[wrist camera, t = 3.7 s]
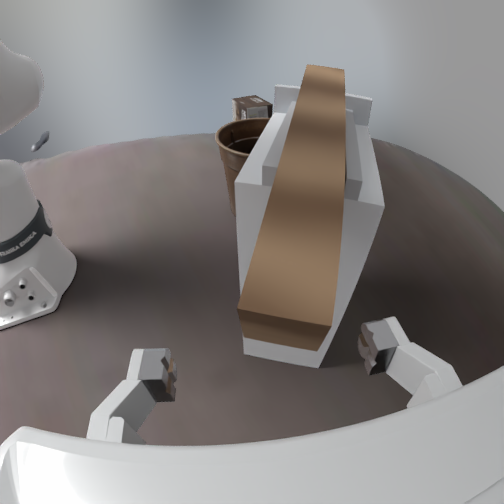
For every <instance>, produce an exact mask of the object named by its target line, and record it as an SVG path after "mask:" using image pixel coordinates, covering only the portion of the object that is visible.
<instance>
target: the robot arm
mask: <svg viewBox="0 0 504 504" xmlns="http://www.w3.org/2000/svg"><path fill="white" fill-rule="evenodd" d="M43 88H44V80H43V75H42V72H41V69H40V67H39V66H38V64H37V63H36V62H35V61H34V60H33V59H31V58H30V57H28V56H24V55H20V54H17V53H14V52H12V51H11V50H9V49H8V48H7V47H6V46H5V45H4V44H3V42H2V41H1V39H0V135H1V134H3V133H4V132H6V131H8V130H9V129H11V128H12V127H14V126H16V125H17V124H18V123H19V122H20V121H22V120H23V119H24V118H25V117H26V116H28V115H29V114H30V113H31V112H32V111H34V110H35V109H36V108H37V107H38V105H39V103H40V101H41V98H42V94H43ZM76 267H77V262H76V258H75V256H74V254H73V253H72V252H71V251H69V250H68V249H67V248H66V247H65V246H64V244H63V243H62V242H61V241H60V240H59V238H58V237H57V235H56V234H55V233H54V231H53V229H52V224H51V222H50V220H49V218H48V215H47V213H46V211H45V209H44V208H43V207H42V205H41V203H40V201H39V200H37V199H36V197H35V195H34V193H33V190H32V188H31V186H30V183H29V181H28V179H27V176H26V174H25V171H24V169H23V168H22V166H21V165H20V164H19V163H17V162H15V161H13V160H0V330H1V329H4V328H7V327H10V326H13V325H16V324H19V323H22V322H25V321H28V320H30V319H33V318H36V317H39V316H42V315H45V314H48V313H51V312H53V311H55V310H56V308H57V307H58V304H59V302H60V299H61V296H62V294H63V293H64V292H65V290H66V289H67V288H68V286H69V285H70V283H71V282H72V280H73V278H74V275H75V272H76ZM361 331H362V333H361V334H360V335H359V337H358V349H359V353H360V355H361V357H363V358H364V359H366V360H365V363H364V365H365V368H366V370H367V373H368V375H369V376H370V375H375V374H379V373H383V372H386V373H387V374H388V375H389V376H390V377H392V378H393V379H394V380H395V381H396V382H398V383H399V384H400V385H401V386H403V387H404V388H405V389H406V390H407V391H409V392H410V393H411V394H412V395H413V397H412V398H411V400H410V401H409V403H408V404H407V409H405V410H402V411H399V412H396V413H392V414H389V415H386V416H383V417H379V418H376V419H373V420H369V421H365V422H362V423H358V424H354V425H350V426H346V427H342V428H337V429H333V430H328V431H324V432H319V433H314V434H308V435H303V436H297V437H291V438H284V439H277V440H269V441H261V442H252V443H241V444H227V445H207V446H160V445H146V442H145V441H144V440H143V439H142V438H141V437H140V436H139V435H138V434H137V433H136V432H137V431H138V429H139V428H140V427H141V425H142V424H143V422H144V421H145V419H146V418H147V416H148V415H149V414H150V412H151V411H152V409H153V408H154V406H155V405H156V402H175V393H176V388H175V386H174V382H175V381H176V380H177V370H176V365H175V362H174V360H173V359H172V358H170V356H171V353H170V351H169V349H168V348H158V349H134V350H133V352H132V355H131V360H130V365H129V369H128V374H127V379H126V380H123V381H122V382H121V383H120V384H119V385H118V386H117V387H116V388H115V389H114V390H113V392H112V393H111V394H110V395H109V396H108V397H107V398H106V399H105V400H104V401H103V402H102V403H101V404H100V405H99V406H98V407H97V409H96V410H95V411H94V412H93V413H92V414H91V419H90V423H89V428H88V433H87V438H80V437H74V436H68V435H63V434H58V433H53V432H49V431H44V430H40V429H36V428H32V427H28V426H23V427H21V428H19V429H18V430H16V431H15V432H14V433H13V434H12V435H10V436H9V437H8V438H7V439H6V440H5V441H4V442H3V443H2V445H1V447H0V504H504V366H502V367H500V368H499V369H497V370H495V371H493V372H491V373H489V374H487V375H485V376H483V377H481V378H479V379H477V380H475V381H473V382H471V383H469V384H467V385H465V386H462V384H461V382H460V380H459V378H458V376H457V375H456V373H455V371H454V369H453V367H452V366H451V365H450V364H448V363H447V362H445V361H443V360H442V359H440V358H438V357H437V356H435V355H433V354H432V353H430V352H428V351H427V350H425V349H423V348H422V347H420V346H418V345H417V344H415V343H414V342H412V343H410V341H409V340H408V338H407V336H406V334H405V333H404V331H403V329H402V327H401V326H400V324H399V322H398V320H397V319H396V318H395V317H389V318H385V319H379V320H375V321H370V322H366V323H363V324H362V326H361Z"/></svg>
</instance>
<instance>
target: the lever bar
mask: <svg viewBox="0 0 504 504" xmlns="http://www.w3.org/2000/svg"><path fill="white" fill-rule="evenodd" d="M344 77H345V76H344V70H342V69H337V68H330V67H323V66H316V65H307V67H306V70H305V74H304V77H303V81H302V85H301V88H300V91H299V95H298V98H297V102H296V105H295V109H294V112H293V116H292V119H291V123H290V126H289V130H288V133H287V136H286V140H285V143H284V147H283V150H282V154H281V157H280V161H279V164H278V168H277V171H276V175H275V178H274V182H273V185H272V189H271V192H270V196H269V199H268V203H267V206H266V210H265V213H264V217H263V220H262V223H261V227H260V230H259V234H258V237H257V241H256V244H255V248H254V251H253V255H252V258H251V262H250V265H249V269H248V272H247V276H246V279H245V282H244V286H243V289H242V293H241V296H240V300H239V303H238V307H237V310H238V315H239V319H240V323H241V327H242V331H243V336H244V337H245V338H249V339H254V340H259V341H263V342H268V343H273V344H278V345H284V346H289V347H294V348H300V349H305V350H311V351H318V349H319V348H320V346H321V344H322V343H323V341H324V339H325V337H326V336H327V334H328V332H329V330H330V329H331V327H332V321H333V314H334V306H335V298H336V290H337V281H338V271H339V261H340V250H341V238H342V224H343V209H344V189H345V157H346V106H345V78H344Z"/></svg>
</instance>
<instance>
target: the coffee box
mask: <svg viewBox="0 0 504 504" xmlns="http://www.w3.org/2000/svg"><path fill="white" fill-rule="evenodd" d="M232 106H233V121H237V120H242V119H248V118H271V117H272V106H273V105H272V104H271V103H269V102H267V101H265V100H263V99H261V98H259V97H258V96H256V95H255V96H246V97H241V98H234V99H232Z"/></svg>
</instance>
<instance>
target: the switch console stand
mask: <svg viewBox="0 0 504 504" xmlns="http://www.w3.org/2000/svg"><path fill="white" fill-rule="evenodd" d="M300 88H301V87H299V86H289V85H279V84H277V85H276V86H275V101H274V113H273V115H272V117H271V118H270V120H269V122H268V124H267V125H266V127H265V129H264V130H263V132H262V134H261V136H260V137H259V139H258V141H257V143H256V144H255V146H254V148H253V150H252V151H251V153H250V155H249V157H248V158H247V160H246V162H245V164H244V166H243V167H242V169H241V171H240V173H239V175H238V176H237V178H236V180H235V203H236V224H237V243H238V262H239V280H240V296H241V293H242V289H243V286H244V282H245V279H246V276H247V272H248V269H249V265H250V262H251V258H252V255H253V251H254V248H255V244H256V241H257V237H258V234H259V230H260V227H261V223H262V220H263V217H264V213H265V210H266V206H267V203H268V199H269V196H270V192H271V189H272V185H273V182H274V178H275V175H276V171H277V168H278V164H279V161H280V157H281V154H282V150H283V147H284V143H285V140H286V136H287V133H288V130H289V126H290V123H291V119H292V116H293V112H294V109H295V105H296V102H297V98H298V95H299V91H300ZM371 105H372V99H371V98H368V97H363V96H357V95H352V94H347V93H345V106H346V157H345V189H344V209H343V224H342V238H341V250H340V261H339V271H338V281H337V290H336V298H335V306H334V314H333V321H332V327H331V329H330V330H329V332H328V334H327V336H326V337H325V339H324V341H323V343H322V344H321V346H320V348H319V349H318V351H311V350H305V349H300V348H294V347H289V346H284V345H278V344H273V343H268V342H263V341H259V340H254V339H249V338H245V337H244V336H243V346H244V354H247V355H251V356H256V357H260V358H265V359H270V360H275V361H280V362H285V363H291V364H296V365H302V366H308V367H314V368H319V366H320V364H321V362H322V360H323V358H324V356H325V354H326V352H327V350H328V348H329V346H330V343H331V341H332V339H333V337H334V335H335V333H336V330H337V328H338V326H339V324H340V322H341V319H342V317H343V315H344V313H345V310H346V308H347V306H348V303H349V301H350V299H351V296H352V294H353V291H354V289H355V286H356V284H357V282H358V279H359V276H360V274H361V271H362V269H363V266H364V264H365V261H366V258H367V256H368V253H369V250H370V248H371V245H372V242H373V239H374V236H375V234H376V231H377V228H378V225H379V222H380V219H381V216H382V213H383V210H384V207H385V205H384V199H383V194H382V188H381V183H380V178H379V173H378V168H377V163H376V159H375V154H374V150H373V146H372V141H371V137H370V133H369V129H368V123H369V117H370V111H371Z"/></svg>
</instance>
